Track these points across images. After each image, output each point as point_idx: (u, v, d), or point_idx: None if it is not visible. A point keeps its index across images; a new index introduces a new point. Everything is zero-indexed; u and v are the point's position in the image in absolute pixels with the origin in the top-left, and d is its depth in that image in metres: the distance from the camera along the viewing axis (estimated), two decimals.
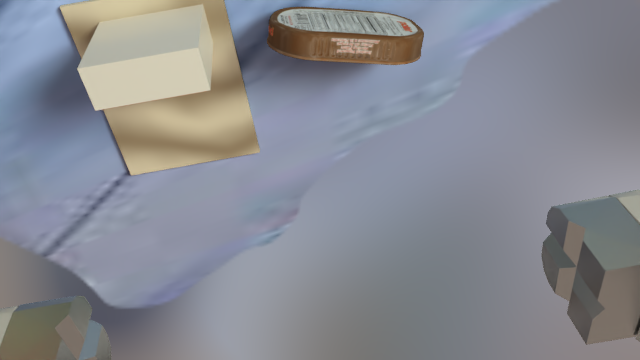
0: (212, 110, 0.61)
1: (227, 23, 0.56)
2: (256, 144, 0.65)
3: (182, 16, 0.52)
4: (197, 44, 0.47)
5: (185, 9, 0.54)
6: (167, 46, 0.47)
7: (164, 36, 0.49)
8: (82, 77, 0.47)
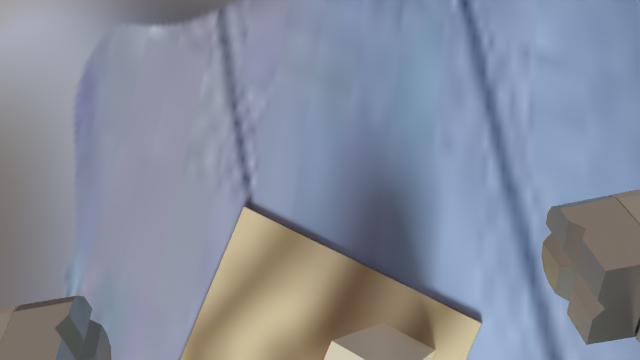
0: None
1: None
2: None
3: None
4: None
5: None
6: None
7: None
8: None
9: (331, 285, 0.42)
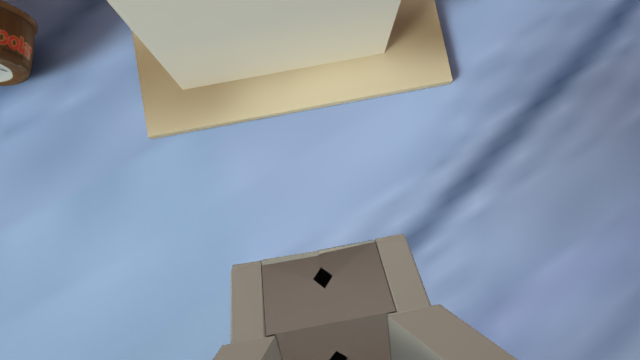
0: None
1: (138, 51, 0.28)
2: None
3: (209, 67, 0.25)
4: (115, 6, 0.18)
5: (214, 80, 0.27)
6: (197, 1, 0.19)
7: (223, 26, 0.21)
8: None
9: None
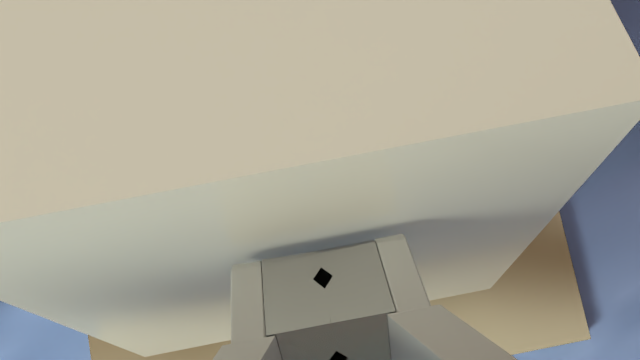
0: None
1: None
2: None
3: (184, 329, 0.14)
4: None
5: (198, 342, 0.16)
6: (120, 239, 0.08)
7: (194, 276, 0.10)
8: (623, 47, 0.07)
9: None
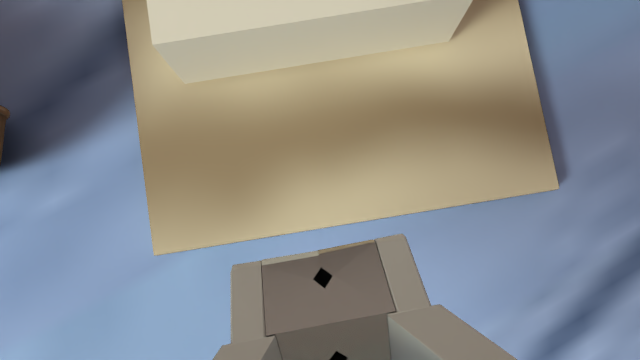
0: None
1: (143, 139, 0.21)
2: None
3: None
4: None
5: (204, 19, 0.17)
6: None
7: None
8: None
9: None
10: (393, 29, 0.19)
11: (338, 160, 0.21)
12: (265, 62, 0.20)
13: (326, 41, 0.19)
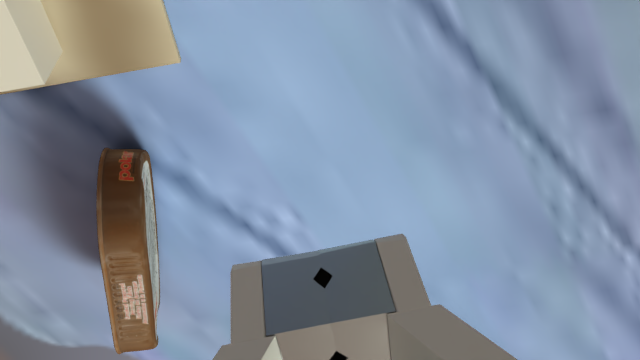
0: None
1: (107, 73, 0.33)
2: None
3: None
4: None
5: (19, 55, 0.28)
6: None
7: None
8: None
9: None
10: None
11: None
12: (33, 2, 0.29)
13: None
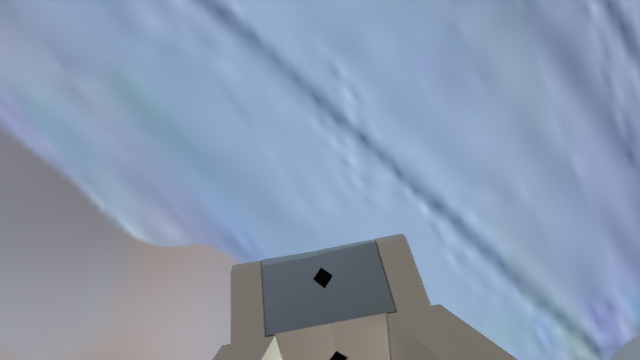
0: None
1: None
2: None
3: None
4: None
5: None
6: None
7: None
8: None
9: None
10: None
11: None
12: None
13: None
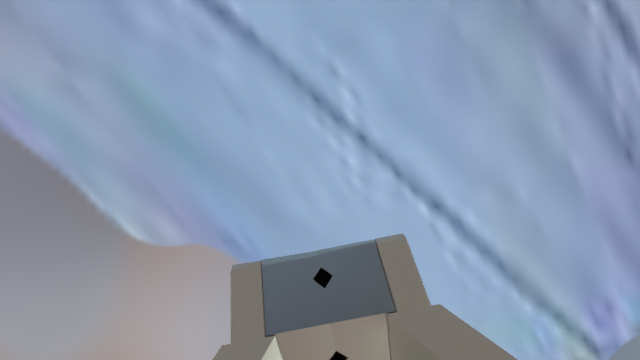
0: None
1: None
2: None
3: None
4: None
5: None
6: None
7: None
8: None
9: None
10: None
11: None
12: None
13: None
